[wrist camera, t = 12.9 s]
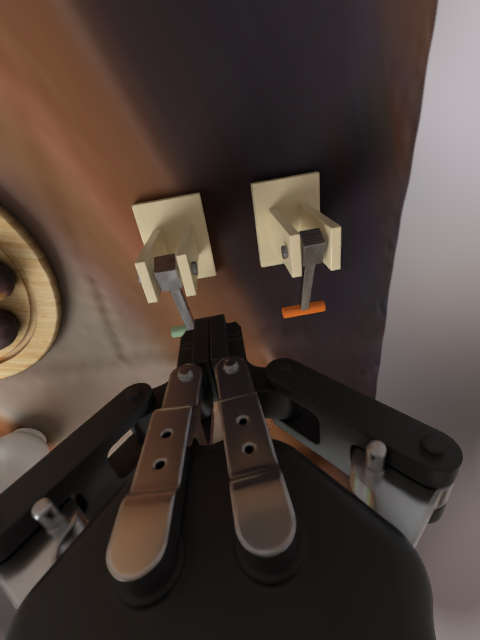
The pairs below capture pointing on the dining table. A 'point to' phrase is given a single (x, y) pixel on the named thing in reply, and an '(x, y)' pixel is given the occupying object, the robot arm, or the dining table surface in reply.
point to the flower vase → (20, 454)
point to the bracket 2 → (292, 221)
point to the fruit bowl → (25, 299)
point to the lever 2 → (308, 272)
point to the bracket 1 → (173, 241)
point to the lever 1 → (173, 289)
